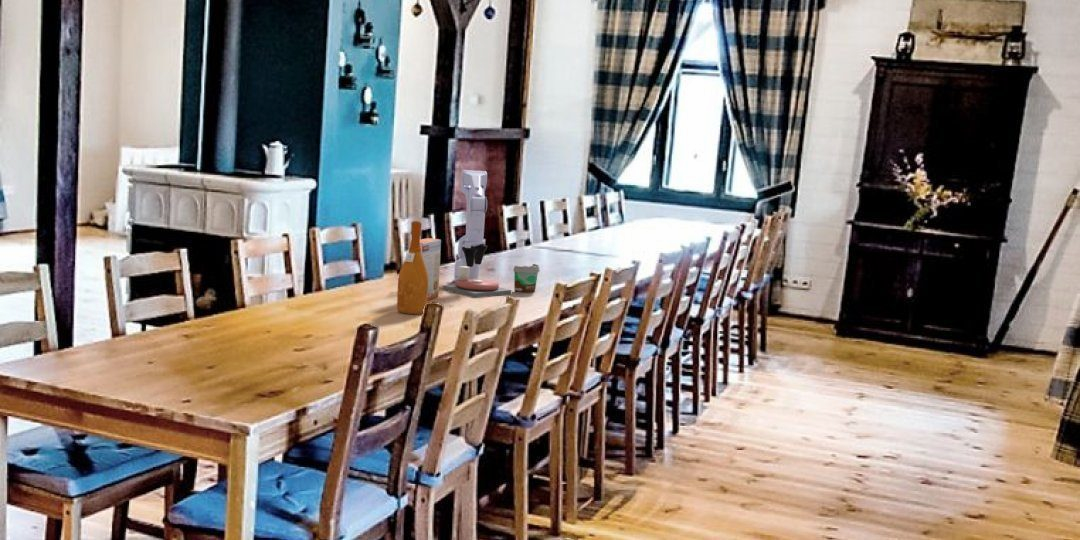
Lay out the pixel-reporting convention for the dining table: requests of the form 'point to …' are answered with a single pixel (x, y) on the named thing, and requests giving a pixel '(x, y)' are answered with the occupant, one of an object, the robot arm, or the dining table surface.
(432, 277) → the cracker box
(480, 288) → the handwheel
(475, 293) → the base plate
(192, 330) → the dining table surface
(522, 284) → the food container
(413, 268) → the wine bottle
